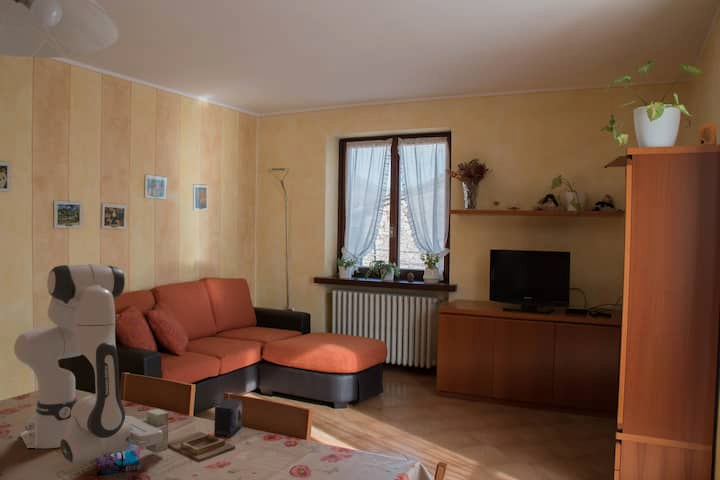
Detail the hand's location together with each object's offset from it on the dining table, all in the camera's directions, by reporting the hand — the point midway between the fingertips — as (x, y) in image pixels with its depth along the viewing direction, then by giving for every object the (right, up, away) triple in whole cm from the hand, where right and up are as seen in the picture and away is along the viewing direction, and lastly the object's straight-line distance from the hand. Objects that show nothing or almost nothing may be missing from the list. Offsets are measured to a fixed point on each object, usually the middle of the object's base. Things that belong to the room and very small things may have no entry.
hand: (159, 424), depth 187 cm
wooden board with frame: (+11, -10, +7) cm, 16 cm away
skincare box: (-1, -8, -1) cm, 8 cm away
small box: (+17, -10, +21) cm, 29 cm away
